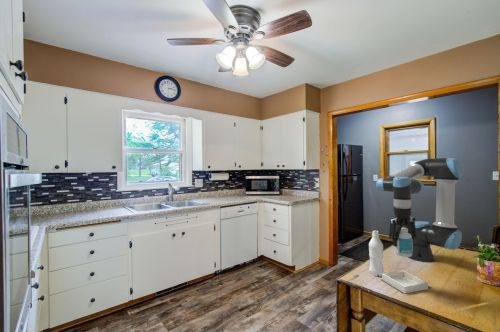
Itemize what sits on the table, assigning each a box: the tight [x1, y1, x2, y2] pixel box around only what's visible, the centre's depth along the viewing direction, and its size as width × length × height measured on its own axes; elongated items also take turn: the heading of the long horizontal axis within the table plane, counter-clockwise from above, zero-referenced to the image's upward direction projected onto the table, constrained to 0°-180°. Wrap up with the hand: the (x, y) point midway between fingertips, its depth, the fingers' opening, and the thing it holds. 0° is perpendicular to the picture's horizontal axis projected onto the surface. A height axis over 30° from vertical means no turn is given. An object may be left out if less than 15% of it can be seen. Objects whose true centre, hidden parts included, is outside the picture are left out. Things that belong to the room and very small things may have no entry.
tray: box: [381, 269, 429, 294], centre depth 120 cm, size 14×14×3 cm
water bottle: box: [368, 229, 385, 278], centre depth 131 cm, size 7×7×25 cm
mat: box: [380, 279, 433, 295], centre depth 120 cm, size 18×14×1 cm
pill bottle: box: [394, 227, 412, 258], centre depth 120 cm, size 8×7×14 cm
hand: (403, 251), depth 120 cm, fingers closed on pill bottle, 7 cm apart
